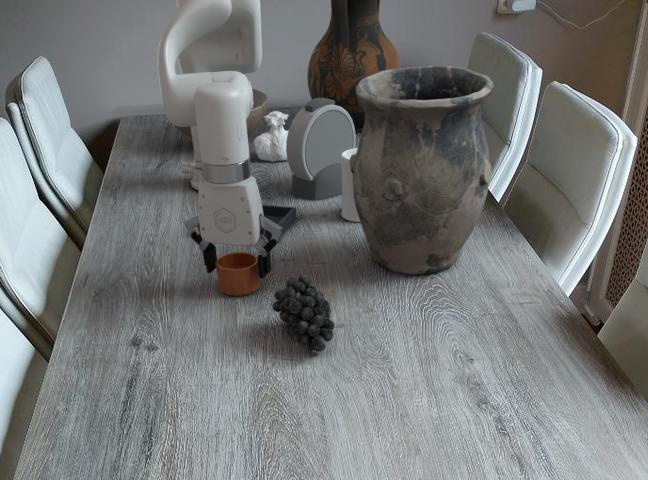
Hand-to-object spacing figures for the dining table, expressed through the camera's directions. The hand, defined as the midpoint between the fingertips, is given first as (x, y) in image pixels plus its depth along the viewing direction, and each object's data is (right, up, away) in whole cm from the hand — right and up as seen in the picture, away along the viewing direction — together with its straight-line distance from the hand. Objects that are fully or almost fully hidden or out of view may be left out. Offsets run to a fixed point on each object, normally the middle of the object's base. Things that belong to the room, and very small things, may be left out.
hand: (238, 272), depth 136 cm
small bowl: (0, -2, +2) cm, 3 cm away
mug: (+24, +19, +27) cm, 40 cm away
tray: (-1, +15, +23) cm, 28 cm away
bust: (+3, +43, +56) cm, 71 cm away
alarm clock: (+14, +29, +39) cm, 50 cm away
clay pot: (+32, +5, +9) cm, 33 cm away
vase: (+22, +60, +77) cm, 100 cm away
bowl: (-13, +52, +69) cm, 87 cm away
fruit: (+12, -14, -12) cm, 22 cm away
